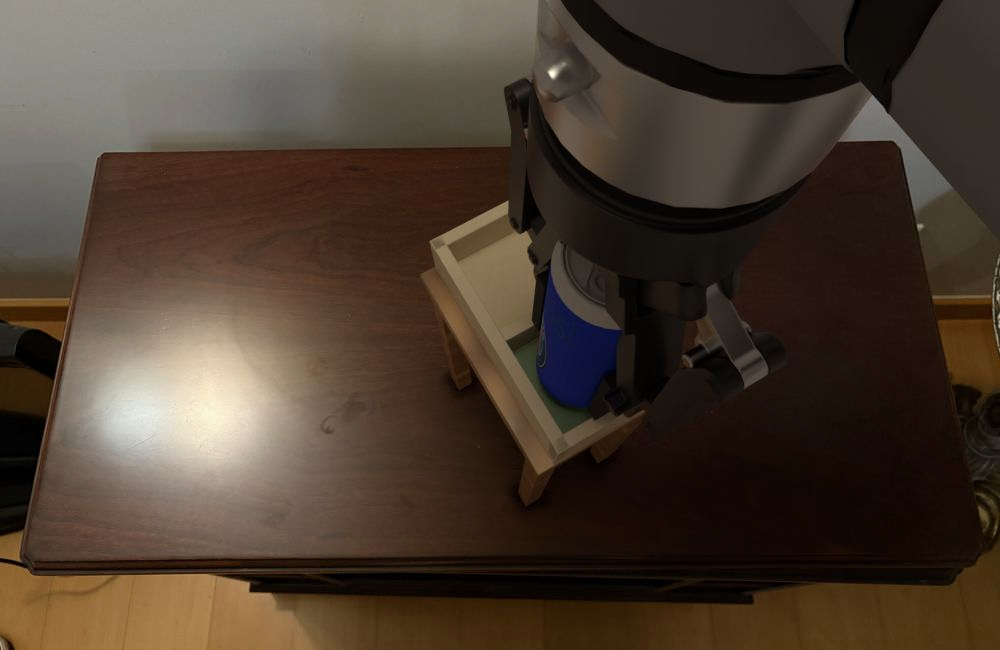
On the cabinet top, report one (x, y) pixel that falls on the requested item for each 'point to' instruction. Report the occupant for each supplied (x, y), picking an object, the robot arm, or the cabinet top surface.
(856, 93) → the robot arm
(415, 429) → the cabinet top surface
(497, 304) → the tray
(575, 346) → the beverage can
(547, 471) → the shelf
